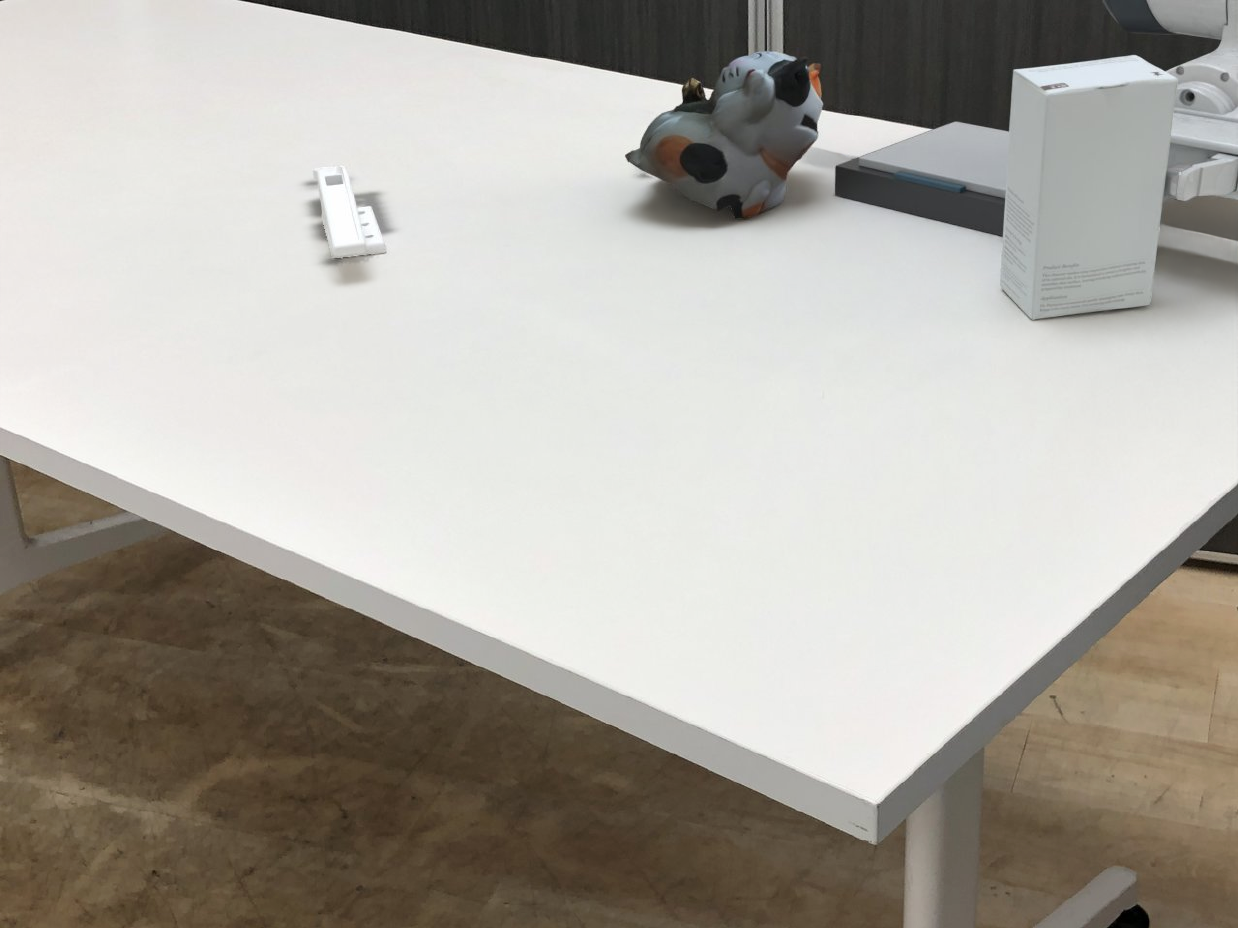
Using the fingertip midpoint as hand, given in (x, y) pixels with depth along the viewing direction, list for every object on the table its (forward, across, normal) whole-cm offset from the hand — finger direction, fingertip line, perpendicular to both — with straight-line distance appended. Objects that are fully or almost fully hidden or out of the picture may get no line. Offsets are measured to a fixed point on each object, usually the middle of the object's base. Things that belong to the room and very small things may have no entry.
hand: (1101, 172), depth 90 cm
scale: (-13, -17, +8) cm, 23 cm away
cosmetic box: (+2, 0, +8) cm, 8 cm away
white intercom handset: (+24, -48, +8) cm, 55 cm away
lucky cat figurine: (0, -32, +8) cm, 33 cm away
